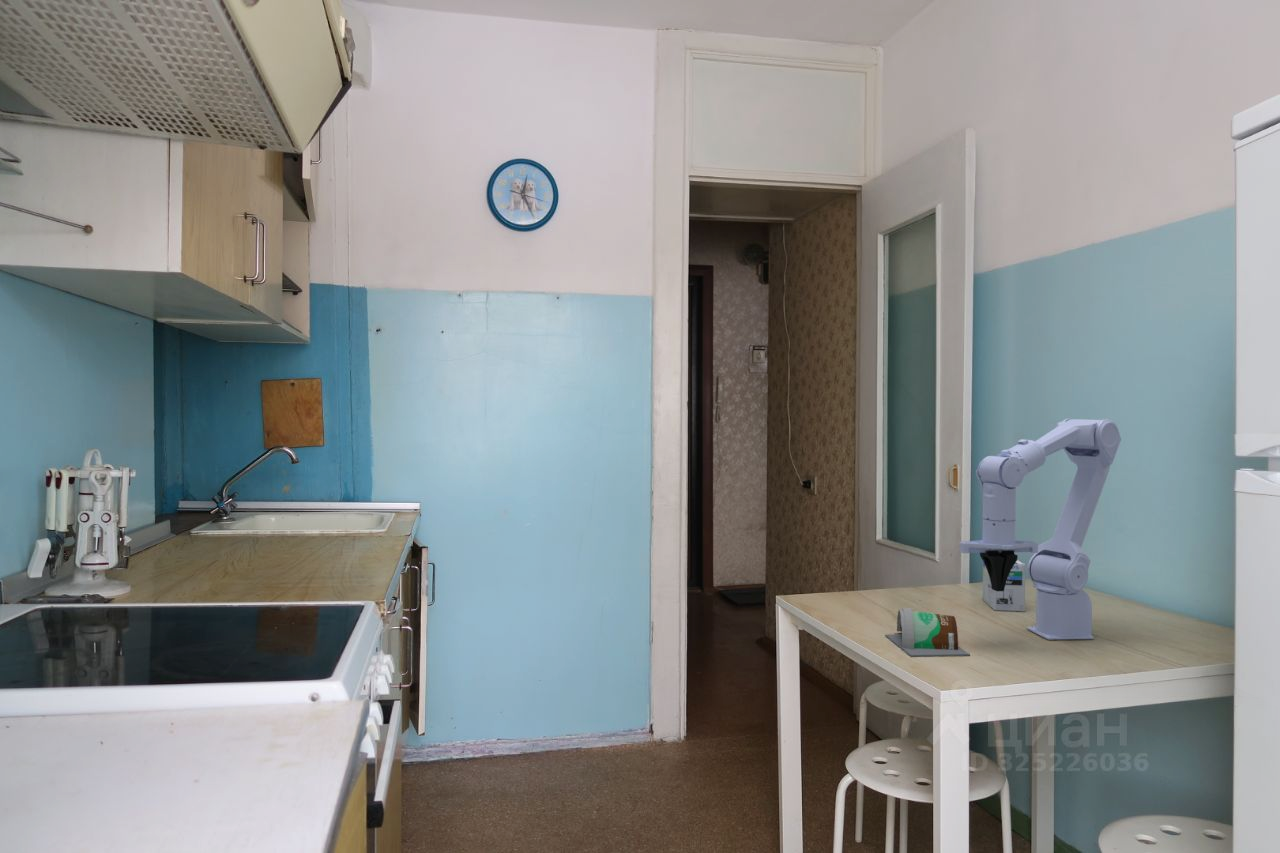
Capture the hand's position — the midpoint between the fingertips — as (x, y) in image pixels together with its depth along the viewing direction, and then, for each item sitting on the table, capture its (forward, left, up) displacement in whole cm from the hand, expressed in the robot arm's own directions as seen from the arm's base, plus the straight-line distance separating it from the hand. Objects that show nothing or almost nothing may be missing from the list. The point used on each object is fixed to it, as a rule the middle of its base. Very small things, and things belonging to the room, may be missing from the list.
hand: (997, 590), depth 154 cm
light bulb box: (-16, -29, -11) cm, 35 cm away
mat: (+14, 0, -10) cm, 17 cm away
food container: (+8, 0, -7) cm, 11 cm away
